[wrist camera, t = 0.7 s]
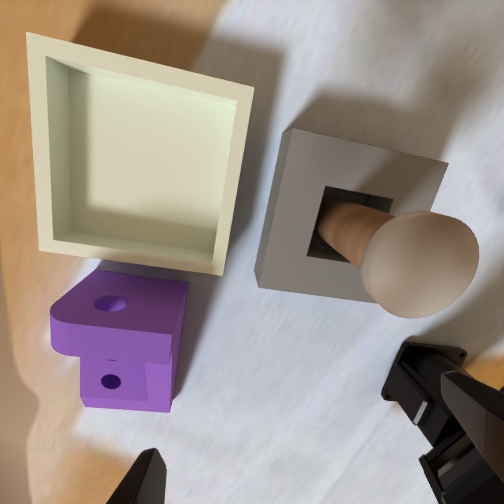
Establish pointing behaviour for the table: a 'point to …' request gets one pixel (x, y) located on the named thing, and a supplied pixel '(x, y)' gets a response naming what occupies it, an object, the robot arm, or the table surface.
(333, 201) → the peg
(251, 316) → the table surface
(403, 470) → the table surface
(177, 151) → the tray
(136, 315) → the bracket
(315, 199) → the holder
